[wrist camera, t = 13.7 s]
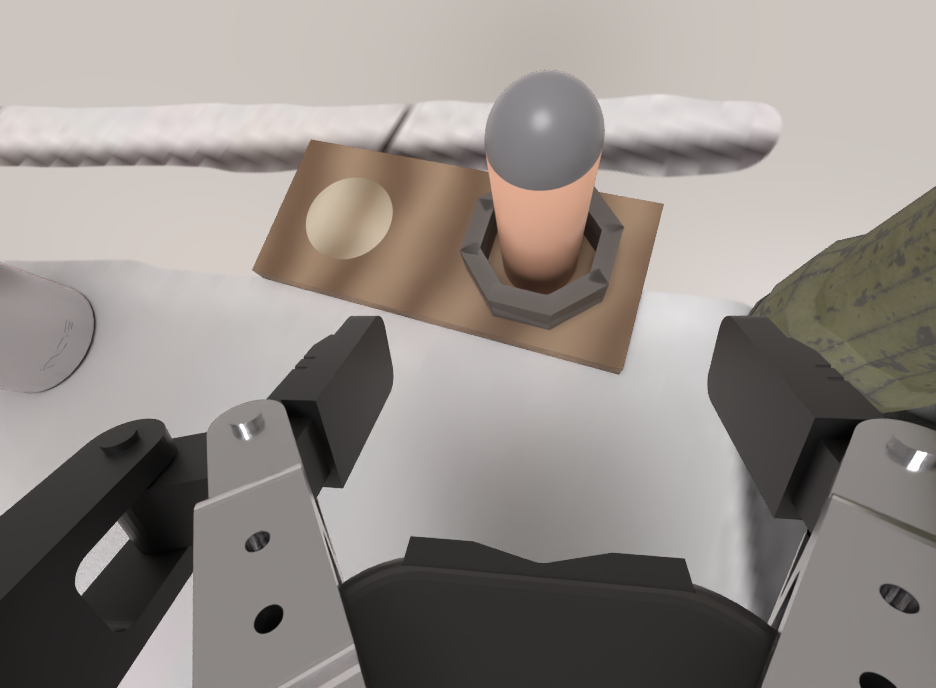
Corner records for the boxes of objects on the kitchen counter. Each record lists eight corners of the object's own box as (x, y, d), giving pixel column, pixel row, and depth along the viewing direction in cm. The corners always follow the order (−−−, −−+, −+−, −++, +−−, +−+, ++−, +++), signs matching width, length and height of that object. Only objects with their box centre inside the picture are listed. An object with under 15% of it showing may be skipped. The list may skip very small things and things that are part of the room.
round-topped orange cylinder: (494, 285, 30) (460, 137, 16) (514, 222, 31) (499, 31, 17) (566, 302, 29) (595, 160, 15) (584, 236, 30) (628, 46, 16)
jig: (263, 278, 35) (225, 252, 31) (319, 151, 37) (291, 111, 33) (618, 374, 29) (632, 358, 24) (658, 215, 31) (677, 176, 27)
